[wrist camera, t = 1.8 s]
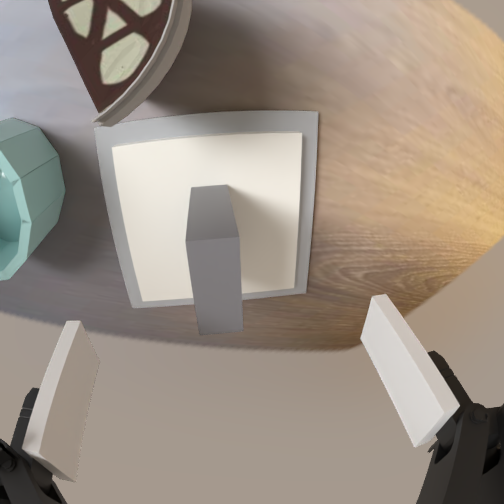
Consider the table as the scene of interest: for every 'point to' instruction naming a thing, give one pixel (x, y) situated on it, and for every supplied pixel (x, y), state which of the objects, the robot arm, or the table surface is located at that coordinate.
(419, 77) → the table surface
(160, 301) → the mat
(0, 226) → the bowl
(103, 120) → the food container
